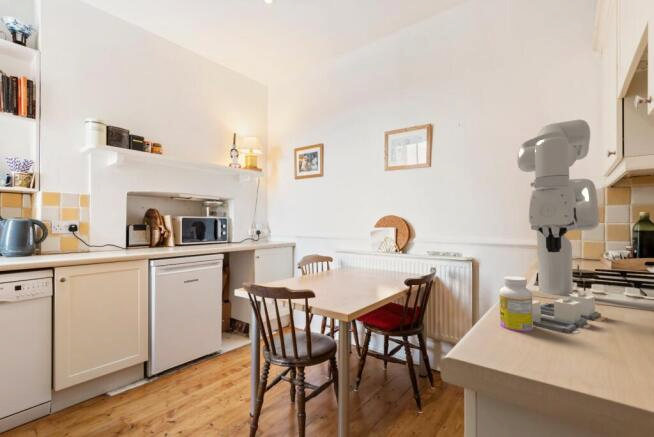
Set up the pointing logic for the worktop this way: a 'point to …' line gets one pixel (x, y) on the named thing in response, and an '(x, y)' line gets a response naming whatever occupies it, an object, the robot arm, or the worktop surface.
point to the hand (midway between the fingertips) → (553, 251)
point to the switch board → (568, 325)
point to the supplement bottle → (516, 305)
